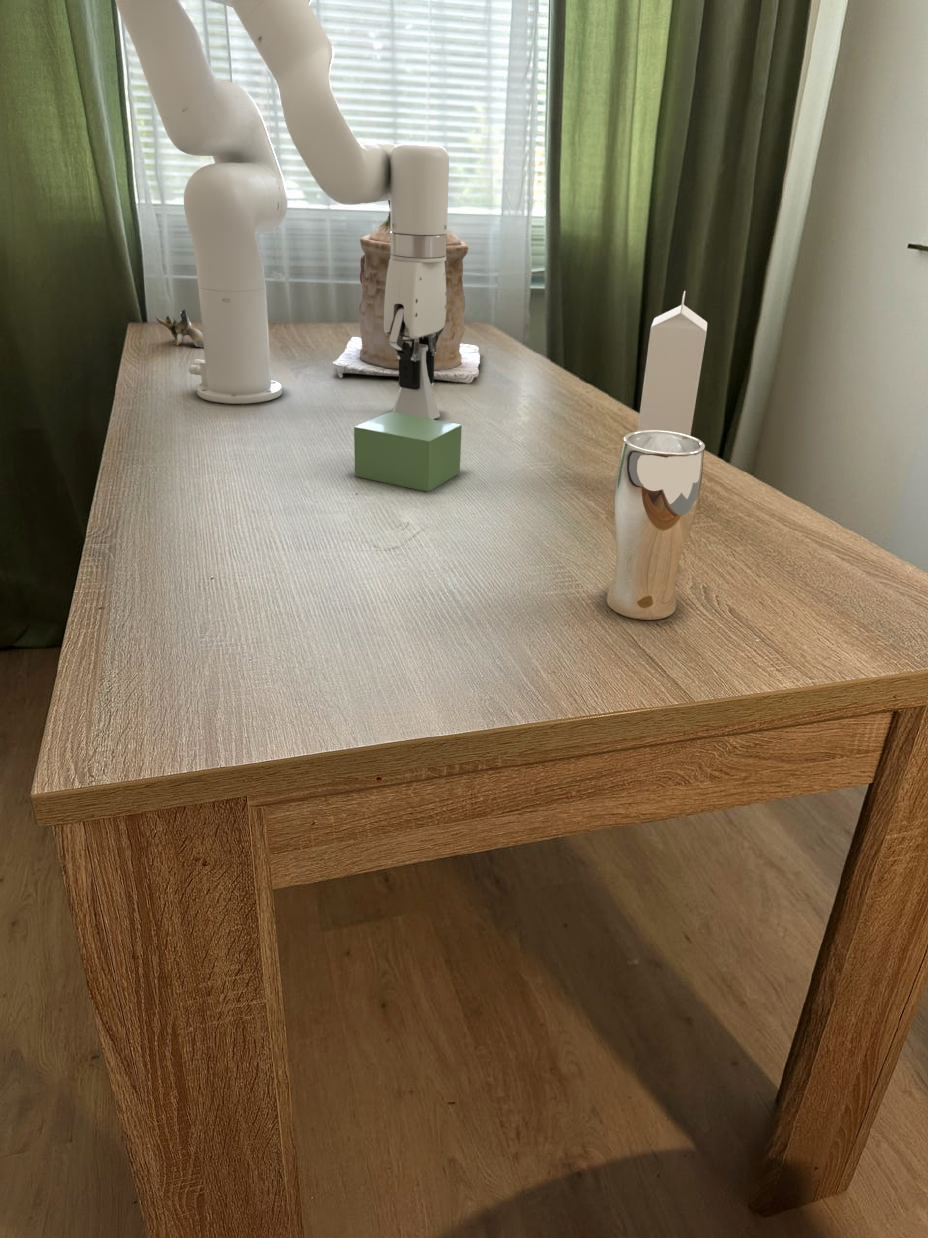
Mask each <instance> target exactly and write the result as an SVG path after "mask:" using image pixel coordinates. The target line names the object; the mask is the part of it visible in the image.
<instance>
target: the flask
mask: <svg viewBox="0 0 928 1238" xmlns="http://www.w3.org/2000/svg"><path fill="white" fill-rule="evenodd" d="M409 345H410V347H411V344H409ZM426 351H428V345H424V344H419V351H418V360H419V361H421V369H420V388H419V389H417V390H414V389H408V388H402V387H399V391H398V393H397V396H396V399H395V401H394V404H393V407H392V410H391V412H393V413H399V414H404V415H410V416H415V417H421V418H426V419H432V420H436V419H437V418H440V417H441V414H440V411H439V410H440V409H439V407H438V404H437V401H436V398H435V395H434V393H433V392H434V391H433V389H432V384H430V381H429V377H428V373H427V366H426Z"/></svg>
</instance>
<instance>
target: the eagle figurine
mask: <svg viewBox="0 0 928 1238" xmlns="http://www.w3.org/2000/svg"><path fill="white" fill-rule="evenodd" d="M179 312H180V313H179V314H180V318H181V320H180V321H179V322H178V320H177V318H175V317H173V322H172V320H171V318H170V316H169V315H167V316H166V317H165V321H163V320H162V319H160V318H159V317H158V316H155V320H156V321H157V322H158V323H159V324H161V325H163V326H165V327H166V328H167V329H168V331H169V332H171V335H172V336H173V338H174V340H175V341H176V344H175V345H176V346H179V344H181V343H182V342H183V339H184V337H185V336H189V337H190V338H191V340H192V341H193V345H195V347H197V348H203V349H204V344H203V333H202V331H201V330H198V329H197V328H194V327H193V325H192V323H191V321H190V316H189V314H188V312H187V310H186V308H183V309H182V310H181V311H179Z"/></svg>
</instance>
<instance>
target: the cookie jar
mask: <svg viewBox="0 0 928 1238" xmlns="http://www.w3.org/2000/svg"><path fill="white" fill-rule="evenodd" d="M390 201H391V200H388V201H387V203H388V206H389V212H388V216H387V218H386V220H385V221H384V222H382V223H381V224H380V225H379V226H378V227H377V228H376V229H375V230H374V231H373V232H372V233H371V234H366V235H364V236H362V237H361V238H360V239H359V242H360V247H361V250H362V252H363V254H362V255H361V257H360V261H359V262H360V273H359V281H360V284H361V294H360V295H361V297H360V303H359V307H358V317H357V318H358V323H359V324H358V326H359V331H360V337H357V336H352V337H351V338H350V340H349V341H348V342H347V344H346V347H345V349H344V351H343V352H341V354H340V355H339V356H338V358H336V359H335V360H333V361H332V365H333V366H334V368H335V369H336V371H337V375H338V377H339V378H340V379H341V378H343V377H344V375H343V374H357V375H367V376H380V377H381V376H383V377H399V359H398V358H397V351H396V350H395V348H394V347H392V346H391V345H390V344H389V338H390V335H387V334H386V333H385V332H384V302H385V287H386V277H387V271H388V265H389V260H391V258H390V249H391V208H390ZM468 251H469V245H468V244H467V243H465V242H464V241H462V240H461V239H460V237H458V235H456V234H455V233H454V232H453V231H452V230H449V229H447V247H446V261H444V262H445V274H446V320H445V325H444V327H443V331H442V333H441V334H440V336H439V338H438V341H437V343H436V354H435V355H432V356H434V380H437V381H447V382H453V383H465V384H471V383H472V382H473V380H474V378H478V376H479V374H480V370H479V365H480V364H481V358H482V357H481V355H480V347H478V346H477V345H474V344H467V343H461V342H462V340H463V337H464V333H465V322H466V316H465V311H466V296H465V292H464V282H463V275H464V261H463V260H464V258H465V257H466V256H467V254H468ZM405 336H409V335H408V332H405ZM423 338H424V337H423ZM405 342H406V343H409V344H412V342H409V341H405Z"/></svg>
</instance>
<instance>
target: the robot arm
mask: <svg viewBox="0 0 928 1238" xmlns="http://www.w3.org/2000/svg"><path fill="white" fill-rule="evenodd" d="M208 1H209V2H212V3H216V4H219V5H222V6H225V7H229V8H232V9H233V10H234V12H235V14H236V16H237V17H238V19H239V21H240V22H241V24H242V26H243V28H244V30H245V31H246V33H247V34H248V36H249V38H250V39H251V41H252V42H253V45H254V46H255V48H256V50H257V51H258V53H259V56H260V57H261V59H262V60H263V62H264V65H265V66H266V67H267V70H268V71H269V73H270V75H271V77H272V78H273V80H274V82H275V84H276V86H277V90H278V97H279V102H280V103H279V104H280V107H281V111H282V115H283V118H284V122H285V126H286V128H287V131H288V134H289V136H290V139H291V141H292V143H293V145H294V147H295V148H296V150H297V152H298V154H299V155H300V157H301V159H302V160H303V162H304V164H305V166H306V168H307V170H308V171H309V172H310V174H311V176H312V178H313V179H314V180H315V182H316V184H317V185H318V187H319V188H320V189H321V190H322V191H323V192H324V194H326V195H327V196H328V197H329V198H330V199H331V200H332V201H334V202H336V203H339V204H341V205H347V206H350V205H351V206H352V205H361V204H372V203H379V202H388V200H391V201H390V207H389V209H390V208H391V249H390V258H391V260H389V265H388V271H387V277H386V287H385V302H384V332H385V333H386V334H387V335H390V338H389V344H390V345H391V346H392V347H394V348H395V350H396V351H397V358H398V359H399V376H398V387H399V388H401V387H402V388H408V389H414V390H417V389H419V388H420V369H421V361H419V360H418V351H419V344H424V345H428V351H426V366H427V373H428V377H429V381H430V384H431V385H432V384H434V383H435V382H434V381H435V379H434V356H432V355H435V354H436V343H437V341H438V338H439V336H440V334H441V333H442V331H443V327H444V325H445V320H446V274H445V262H444V261H446V247H447V230H448V210H449V209H448V208H449V179H450V178H449V176H450V175H449V174H450V158H449V157H450V156H449V154H448V151H447V150H446V148H444V147H443V146H441V145H437V144H428V143H400V144H395V143H391V142H386V141H382V140H377V139H364V138H357V137H356V136H355V134H354V132H353V130H352V129H351V127H350V125H349V124H348V122H347V120H346V118H345V117H344V114H343V113H342V111H341V108H340V106H339V104H338V102H337V99H336V97H335V95H334V91H333V88H332V84H331V69H332V68H331V67H332V64H333V61H334V57H335V50H334V46H333V44H332V42H331V40H330V38H329V37H328V35H327V33H326V32H325V29H324V28H323V26H322V24H321V22H320V21H319V19H318V17H317V16H316V14H315V12H314V10H313V9H312V7H311V3H312V0H208ZM114 2H115V4H116V7H117V9H118V12H119V14H120V17H121V19H122V22H123V24H124V27H125V28H126V30H127V32H128V35H129V37H130V40H131V42H132V44H133V46H134V49H135V52H136V55H137V57H138V59H139V62H140V66H141V68H142V72H143V74H144V77H145V80H146V82H147V86H148V87H149V90H150V93H151V97H152V99H153V101H154V104H155V106H156V109H157V111H158V114H159V117H160V119H161V122H162V124H163V127H164V130H165V132H166V135H167V136H168V138H169V140H170V142H171V143H172V144H173V146H174V147H175V148H176V149H178V150H179V151H180V152H182V153H184V154H186V155H192V156H196V157H212V158H213V161H214V163H209V164H207V165H204V166H202V167H200V168H198V169H197V170H196V171H195V172H194V173H193V174H192V175H191V176H190V177H189V178H188V180H187V182H186V184H185V187H184V193H183V209H184V215H185V219H186V223H187V227H188V230H189V234H190V238H191V243H192V249H193V253H194V260H195V269H196V279H197V287H198V297H199V300H198V301H199V308H200V309H199V310H200V320H201V330H202V331H201V332H202V333H203V344H204V348H203V354H204V359H200V358H196V359H194V360H193V362H192V364H190V365H189V367H188V372H189V374H191V375H196V376H200V378H201V383H199V384H198V385H197V386H196V393H197V396H198V397H199V398H201V399H202V400H205V401H208V402H214V403H219V404H231V405H232V404H234V405H240V404H257V403H263V402H268V401H272V400H275V399H277V398H279V397H280V396H281V395H282V394H283V386H282V385H281V384H280V383H279V382H278V381H275V380H272V372H271V371H272V369H271V354H270V337H269V321H268V303H267V287H266V274H265V273H266V272H265V264H264V261H263V256H262V252H261V250H260V249H261V248H260V246H259V242H258V239H257V235H259V234H260V235H261V234H264V233H268V232H272V231H273V230H275V229H276V228H278V226H280V225H281V223H282V222H283V221H284V219H285V216H286V215H287V212H288V205H289V202H288V191H287V187H286V183H285V179H284V176H283V173H282V171H281V167H280V165H279V162H278V159H277V158H278V157H277V156H276V153H275V150H274V147H273V144H272V141H271V139H270V135H269V132H268V130H267V126H266V124H265V120H264V118H263V116H262V113H261V111H260V109H259V107H258V106H257V104H256V102H255V100H254V99H253V97H252V96H251V95H250V94H249V92H247V91H246V89H244V88H243V87H241V86H240V85H238V84H237V83H234V82H231V81H229V80H224V79H218V78H217V77H216V76H215V74H214V72H213V69H212V67H211V65H210V62H209V60H208V58H207V55H206V52H205V50H204V46H203V43H202V42H203V41H202V39H201V37H200V35H199V33H198V30H197V28H196V27H195V25H194V23H193V21H192V20H191V18H190V16H189V15H188V13H187V11H186V10H185V8H184V7H183V5H182V2H181V0H114ZM405 332H408V335H409V336H405ZM423 337H424V338H423ZM405 341H409V342H412V344H411V347H410V345H409V343H406V342H405Z"/></svg>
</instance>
